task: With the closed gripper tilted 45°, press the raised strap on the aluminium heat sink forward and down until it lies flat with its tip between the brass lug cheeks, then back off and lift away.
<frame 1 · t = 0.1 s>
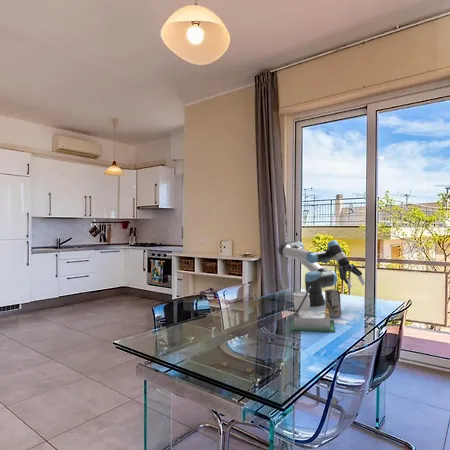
hand: (357, 285, 241), 15 cm above the table, tool tilted 35°, fingers open, 13 cm apart
coffee box: (333, 315, 228), on the table
heat sink: (312, 326, 208), on the table
jar: (302, 316, 231), on the table
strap: (303, 300, 209), point 15 cm above the table, hinge at 60.0°
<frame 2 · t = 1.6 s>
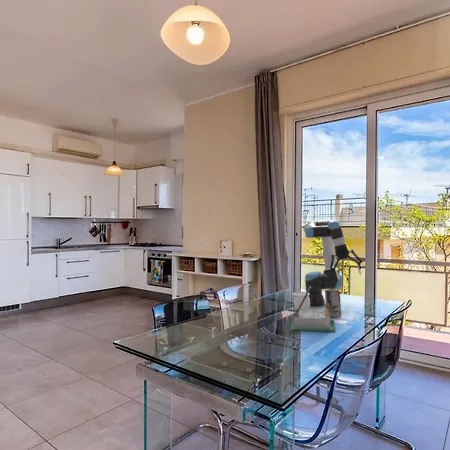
hand: (349, 277, 222), 25 cm above the table, tool pointing down, fingers open, 13 cm apart
nothing on the table moved.
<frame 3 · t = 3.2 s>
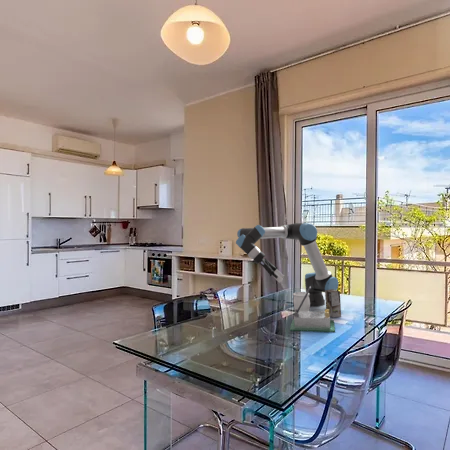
hand: (282, 279, 212), 28 cm above the table, tool tilted 45°, fingers open, 13 cm apart
nothing on the table moved.
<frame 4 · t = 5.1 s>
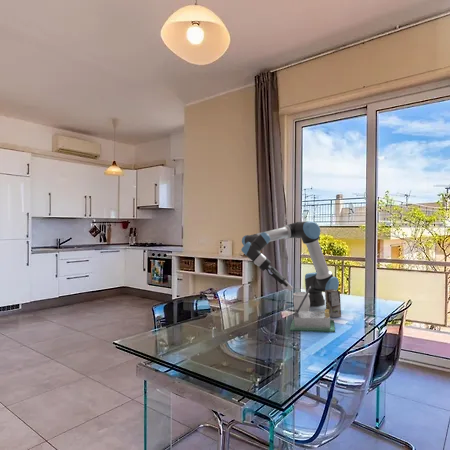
hand: (291, 289, 211), 22 cm above the table, tool tilted 45°, fingers closed
nothing on the table moved.
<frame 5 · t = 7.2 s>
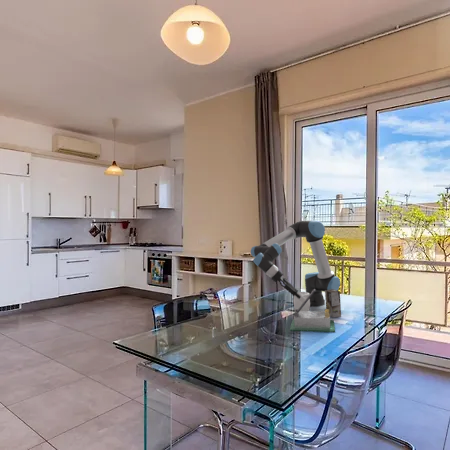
hand: (304, 301, 208), 15 cm above the table, tool tilted 45°, fingers closed
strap: (305, 301, 209), point 15 cm above the table, hinge at 50.7°, touching gripper
everything else where it was.
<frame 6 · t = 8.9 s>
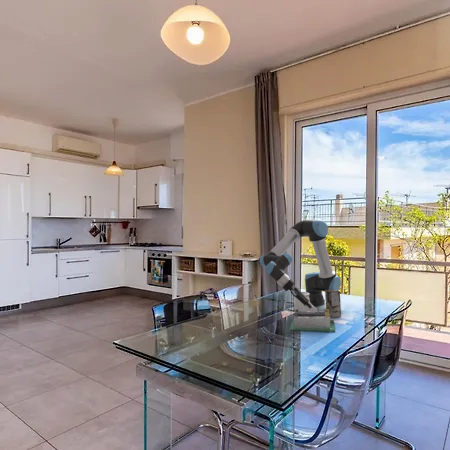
hand: (315, 311, 207), 9 cm above the table, tool tilted 45°, fingers closed
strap: (311, 313, 208), point 8 cm above the table, hinge at -1.3°, touching gripper, heat sink
everything else where it was.
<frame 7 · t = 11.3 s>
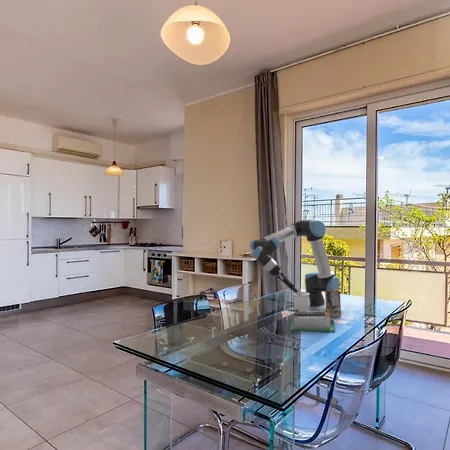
hand: (300, 295, 211), 18 cm above the table, tool tilted 40°, fingers closed
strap: (311, 313, 208), point 8 cm above the table, hinge at -1.3°, touching heat sink
everything else where it was.
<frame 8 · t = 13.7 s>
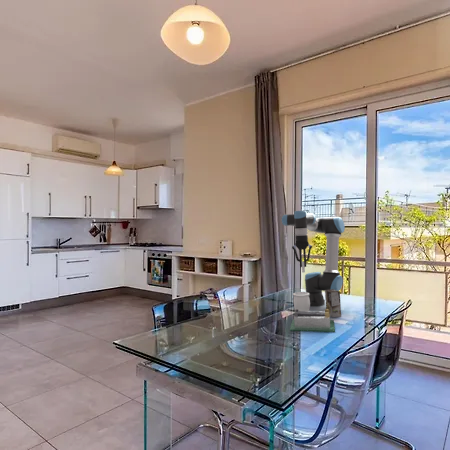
hand: (303, 272, 221), 30 cm above the table, tool pointing down, fingers closed
nothing on the table moved.
at the end: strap at -1° (first picture: +60°); jar moved 0.2 cm from its start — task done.
